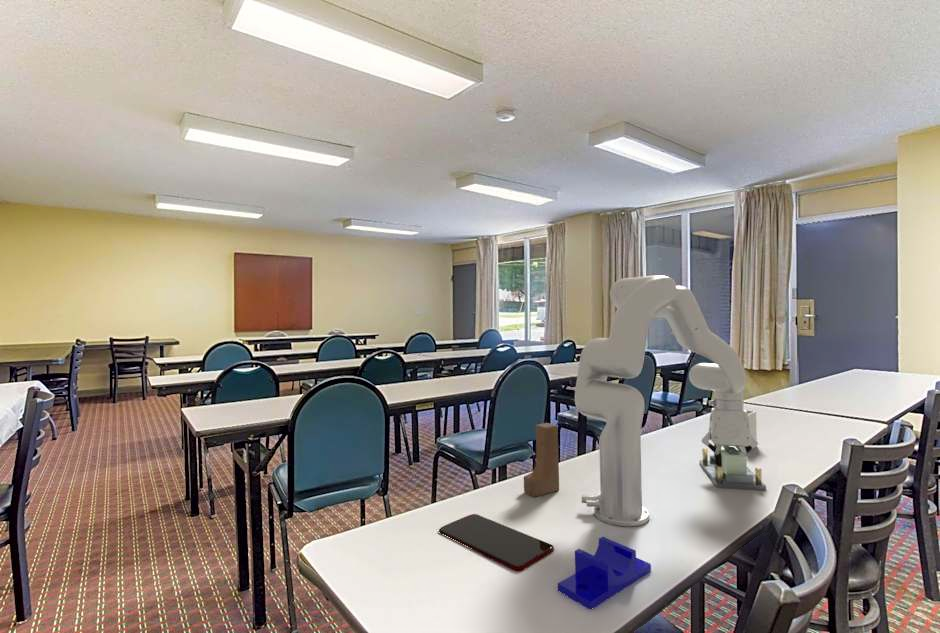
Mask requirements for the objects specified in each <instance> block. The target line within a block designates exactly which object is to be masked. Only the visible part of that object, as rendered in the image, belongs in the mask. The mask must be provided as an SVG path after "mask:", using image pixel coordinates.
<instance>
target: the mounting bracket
mask: <svg viewBox="0 0 940 633" xmlns="http://www.w3.org/2000/svg"><path fill="white" fill-rule="evenodd" d="M636 552H637V551H636V550H635V549H633V548H631V547H628V546H627V545H624V544H622V543H619V542H617V541H614V540H613V539H610V538H608V537H605V536H601V537H599V538H598V546H597V549H596V551H595V552H594V554H591V553H589V552H587V551H585V550H583V549H580V548H578V549H575V550H574V572H575V573H574V574H572V575H570V576H568V577H566V578H564V579H563V580H561V581H560V582H558V583H557V592H559V591H560V592H561V594H562V593H563V594H562V595H564V594H565V595H564V596H566V597H567V596H568V597H567V598H569V599H571V600H572V599H573V600H572V601H574V602H576V603H577V602H578V604H579V603H580V604H579V605H581V604H582V605H581V606H583V607H584V606H585V607H584V608H586V607H587V608H586V609H588V608H589V609H592V608H594V607H595V608H597V607H599V606H600V605H601V604H603V603H604V601H605V602H606V601H608V600H609V599H610V597H611V598H612V597H614V596H616V595H617V594H618V593H620V592H621V591H623V590H624V589H626V588H628V587H630V586H631V585H632V584H634V583H635V582H637V581H638V580H640V579H641V578H642V579H643V577H645V576H646V575H648V574H649V573H651V572H652V564H651V563H650V562H648V561H645V560H643V559H641V558H638V557H637V553H636ZM560 592H559V593H560ZM616 593H617V594H616ZM613 595H614V596H613ZM607 599H608V600H607ZM595 608H594V609H595ZM589 609H588V610H589ZM592 610H593V609H592Z"/></svg>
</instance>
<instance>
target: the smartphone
mask: <svg viewBox="0 0 940 633" xmlns="http://www.w3.org/2000/svg"><path fill="white" fill-rule="evenodd" d="M438 532H440V533H442V534H444V535H446V536H448V537H450V538H452V539H454V540H456V541H458V542H460V543H462V544H464V545H466V546H468V547H470V548H472V549H473V550H472V549H471V550H472V551H474V550H475V551H474V552H476V551H477V552H476V553H478V552H479V553H478V554H480V553H481V554H480V555H482V554H483V555H482V556H484V557H487V558H488V559H490V560H492V559H493V560H492V561H495V562H496V563H498V564H501V565H502V566H504V567H507V568H508V569H510V570H512V571H514V570H515V571H514V572H522V571H524V570H526V569H527V568H529V567H531V566H532V565H533V564H536V563H537V562H539V561H540V560H542V559H543V558H545V557H547V556H549V555H551V554H552V553H553V552H554V551H555V547H554V545H553V544H550V543H548V542H547V541H544V540H541V539H539V538H536V537H533V536H531V535H529V534H527V533H524V532H521V531H519V530H516V529H514V528H511V527H508V526H507V525H504V524H501V523H499V522H497V521H494V520H492V519H489V518H487V517H484V516H482V515H480V514H477V513H473V514H472V513H471V514H469V515H465V516H463V517H461V518H459V519H457V520H455V521H451V522H449V523H448V524H445V525H443V526H441V527H440V528H439V529H438ZM440 533H439V534H440ZM442 534H441V535H442ZM444 535H443V536H444ZM446 536H445V537H446ZM448 537H447V538H448ZM450 538H449V539H450ZM452 539H451V540H452ZM454 540H453V541H454ZM456 541H455V542H456ZM535 562H536V563H535ZM530 565H531V566H530ZM525 568H526V569H525Z"/></svg>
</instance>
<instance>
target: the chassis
mask: <svg viewBox="0 0 940 633" xmlns="http://www.w3.org/2000/svg"><path fill="white" fill-rule="evenodd" d="M701 451H702V459H701V460H698V461H699V465H700V467H701V468H702V470H703V471H704V472H705V473H706V475H707V477H708V478H709V479H710V480H711V482H712V483H713V484H714V485H715V487H716V488H717V489H731V490H732V489H733V490H734V489H737V490H755V491H767V485H766V484H765V483H764V482H763V480H762V468H760V467H755V471H754V472H755V473H754V472H753V471H752V470H751V469H750V468H749V467H748V466H747V475H737V474H725V473H724V472H723V467H721V466H718V467H717V465H715V462H714V454H713V455H712V454H709V457H708V448H704V447H703V448H702V450H701ZM708 458H709V460H708Z"/></svg>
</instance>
